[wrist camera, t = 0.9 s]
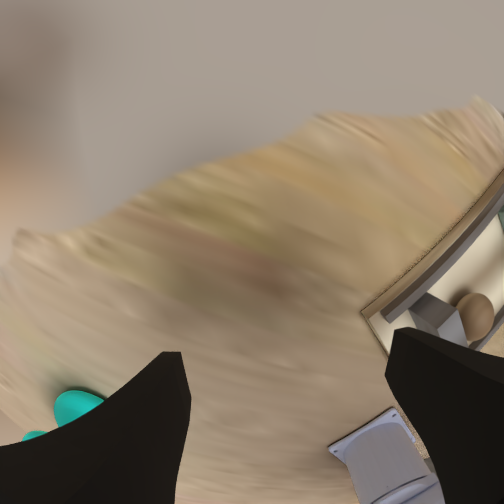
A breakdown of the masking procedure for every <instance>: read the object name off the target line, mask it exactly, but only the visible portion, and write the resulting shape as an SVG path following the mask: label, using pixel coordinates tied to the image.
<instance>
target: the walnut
mask: <svg viewBox="0 0 504 504" xmlns="http://www.w3.org/2000/svg"><path fill="white" fill-rule="evenodd" d="M456 308H457V309H458V312H459V315H460V318H461V322H462V325H463V328H464V332H465V336H466V339H467V341H477V340H479V339H481V338H483V337H484V336H485V335H486V334H487V333H488V332H489V331H490V329H491V327H492V325H493V322H494V308H493V305H492V303H491V301H490V300H489V298H488V297H486V296H485V295H483V294H481V293H471V294H468V295H466V296H464V297H463V298H462V299H461V300H460V301H459V302H458V304H457V306H456Z"/></svg>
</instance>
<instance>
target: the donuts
mask: <svg viewBox="0 0 504 504" xmlns="http://www.w3.org/2000/svg"><path fill="white" fill-rule="evenodd" d="M103 401H104V400H103V399H101V398H99V397H97V396H95V395H93V394H90V393H87V392H83V391H78V390H71V391H66V392H64V393H62V394H61V395H60V396H59V397H58V398H57V399H56V401H55V404H54V415H55V419H56V422H57V424H58V426H59V427H61V426H63V425H65V424H67V423H69V422H71V421H73V420H75V419H77V418H79V417H80V416H82V415H84V414H85V413H87V412H89V411H90V410H92V409H93V408H95V407H96V406H98V405H99V404H101V403H102V402H103ZM45 433H48V432H45V431H31V432H29V433H27V434H26V435H25V436H24V438H23V440H22V441H25V440H28V439H32V438H34V437H37V436H40V435H43V434H45Z"/></svg>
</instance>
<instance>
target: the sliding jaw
mask: <svg viewBox="0 0 504 504" xmlns="http://www.w3.org/2000/svg"><path fill="white" fill-rule="evenodd" d="M498 214H499V217H500V220H501V223H502V227H503V230H504V205H503V206H502V208H501V209H500V210H499V212H498Z"/></svg>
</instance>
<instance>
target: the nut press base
mask: <svg viewBox="0 0 504 504" xmlns="http://www.w3.org/2000/svg"><path fill="white" fill-rule="evenodd" d="M503 205H504V169H503V171H502V172H501V173H500V175H499V176H498V177H497V178H496V180H495V181H494V182H493V183H492V185H491V186H490V187H489V188H488V190H487V191H486V192H485V193H484V194H483V196H482V197H481V198H480V199H479V200H478V202H477V203H476V204H475V205H474V206H473V207H472V208H471V210H470V211H469V212H468V213H467V214H466V215H465V216H464V217H463V218H462V220H461V221H460V222H459V223H458V224H457V225H456V226H455V227H454V228H453V229H452V230H451V231H450V232H449V233H448V234H447V235H446V236H445V237H444V238H443V239H442V240H441V241H440V242H439V243H438V244H437V245H436V246H435V247H434V248H433V249H432V250H431V251H430V252H429V253H428V254H427V255H426V256H425V257H424V258H423V259H422V260H421V261H420V262H419V263H418V264H416V265H415V266H414V267H413V268H412V269H411V270H410V271H409V272H408V273H407V274H405V275H404V276H403V277H402V278H401V279H400V280H399V281H398V282H396V283H395V284H394V285H393V286H392V287H391V288H389V289H388V290H387V291H386V292H385V293H383V294H382V295H381V296H380V297H379V298H377V299H376V300H375V301H374V302H372V303H371V304H370V305H369V306H367V307H366V308H365V309H364V310H362V311H361V312H362V314H363V315H364V317H365V319H366V320H367V322H368V323H369V325H370V327H371V328H372V330H373V332H374V333H375V335H376V336H377V338H378V340H379V341H380V343H381V345H382V346H383V348H384V350H385V351H386V353H387V355H388V357H389V354H390V349H391V344H392V339H393V334H394V329H399V328H404V327H412V328H415V329H419V330H422V331H424V332H427V333H430V334H432V335H435V336H438V337H440V338H443V339H445V340H448V341H451V342H453V343H456V344H458V345H461V346H464V347H467V348H470V349H473V350H476V351H480V350H481V349H482V347H483V346H484V345H485V344H486V343H487V342H488V341H489V339H490V338H491V337H492V336H493V335H494V334H495V332H496V331H497V330H498V329H499V327H500V326H501V325H502V324H503V322H504V230H503V227H502V223H501V220H500V217H499V214H498V212H499V210H500V209H501V208H502V206H503ZM471 293H481V294H483V295H485V296H486V297H488V298H489V300H490V301H491V303H492V305H493V308H494V322H493V325H492V327H491V329H490V331H489V332H488V333H487V334H486V335H485V336H484V337H483V338H481V339H479V340H477V341H467V339H466V336H465V332H464V328H463V325H462V322H461V318H460V315H459V312H458V309H457V308H456V306H457V304H458V302H459V301H460V300H461V299H462V298H463V297H464V296H466V295H468V294H471Z"/></svg>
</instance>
